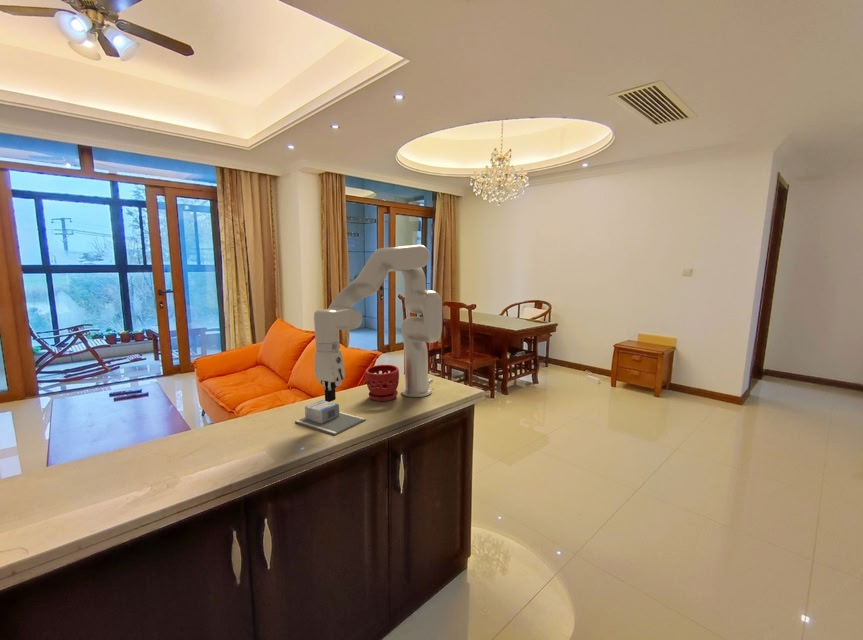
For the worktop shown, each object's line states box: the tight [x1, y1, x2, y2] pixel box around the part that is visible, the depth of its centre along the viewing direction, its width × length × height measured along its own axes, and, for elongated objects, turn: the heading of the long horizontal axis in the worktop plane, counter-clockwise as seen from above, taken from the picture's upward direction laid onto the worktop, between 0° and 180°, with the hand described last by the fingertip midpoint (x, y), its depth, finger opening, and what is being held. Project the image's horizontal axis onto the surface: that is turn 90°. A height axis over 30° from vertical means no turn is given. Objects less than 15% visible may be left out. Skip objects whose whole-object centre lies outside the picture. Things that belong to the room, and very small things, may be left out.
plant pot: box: [365, 364, 400, 402], centre depth 154 cm, size 13×13×12 cm
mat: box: [294, 411, 366, 436], centre depth 132 cm, size 14×19×1 cm
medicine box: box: [304, 399, 340, 423], centre depth 134 cm, size 8×4×9 cm
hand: (330, 400), depth 131 cm, fingers closed
